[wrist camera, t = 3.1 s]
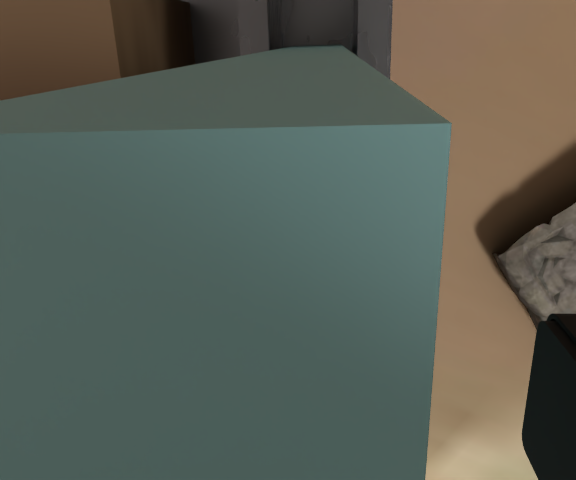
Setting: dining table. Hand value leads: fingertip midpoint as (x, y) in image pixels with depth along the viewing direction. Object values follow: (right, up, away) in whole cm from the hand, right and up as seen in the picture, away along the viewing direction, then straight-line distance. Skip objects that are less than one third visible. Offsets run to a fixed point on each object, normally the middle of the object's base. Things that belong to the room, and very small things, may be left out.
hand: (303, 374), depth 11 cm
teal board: (+1, +4, +9) cm, 10 cm away
